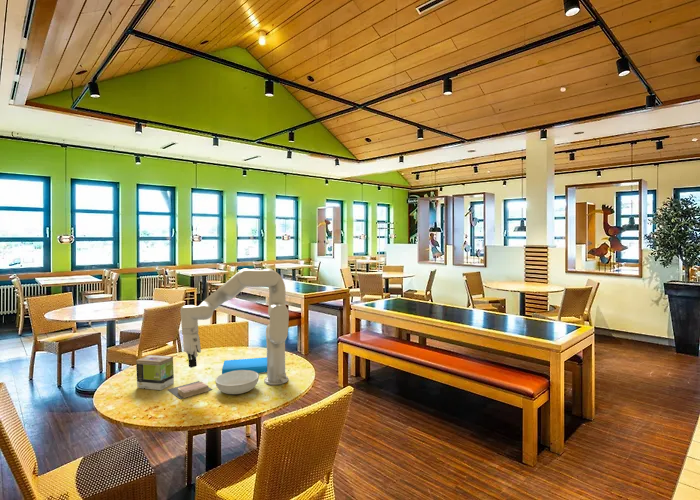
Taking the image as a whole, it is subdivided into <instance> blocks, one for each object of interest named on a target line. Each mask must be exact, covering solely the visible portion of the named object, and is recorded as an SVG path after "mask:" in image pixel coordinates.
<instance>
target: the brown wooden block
mask: <svg viewBox="0 0 700 500" xmlns="http://www.w3.org/2000/svg"><path fill="white" fill-rule="evenodd" d="M208 387H209V385H208V384H206V383H204V382H203V381H199V382H198V383H195V384H191V385H187V386H184V387H180V388H178V394H180V395H181V396H182V397H184V398H183V399H186V398H189V396H190V397H192V396H193V397H194V396H196V394H197V395H199V393H200V394H202V393H203V392H204V393H206V391H207V392H210V391H209V389H208ZM204 393H203V394H204Z"/></svg>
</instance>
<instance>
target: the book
mask: <svg viewBox="0 0 700 500" xmlns="http://www.w3.org/2000/svg"><path fill="white" fill-rule="evenodd" d="M237 370H250V371H254V372H256V373H258V374H261V373H262V374H263V373H267V356H266V357H254V358H239V359H227V360H226V359H225V360H224V361H223V365H222V368H221V375H222V374H224V373H227V372H231V371H237Z"/></svg>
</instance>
